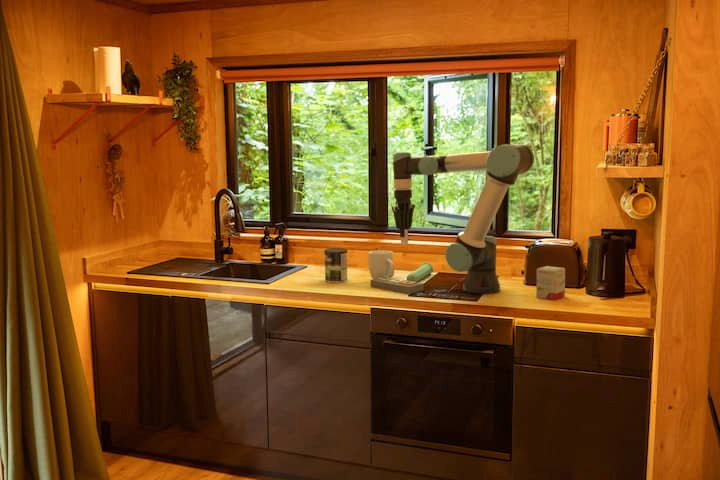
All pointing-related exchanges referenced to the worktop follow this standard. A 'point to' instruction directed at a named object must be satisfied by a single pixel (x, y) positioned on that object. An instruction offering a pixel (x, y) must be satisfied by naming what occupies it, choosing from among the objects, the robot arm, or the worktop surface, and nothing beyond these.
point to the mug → (381, 264)
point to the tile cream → (396, 281)
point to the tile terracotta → (408, 283)
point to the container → (420, 272)
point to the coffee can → (336, 265)
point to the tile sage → (384, 278)
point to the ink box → (550, 282)
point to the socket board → (397, 286)
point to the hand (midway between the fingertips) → (404, 244)
